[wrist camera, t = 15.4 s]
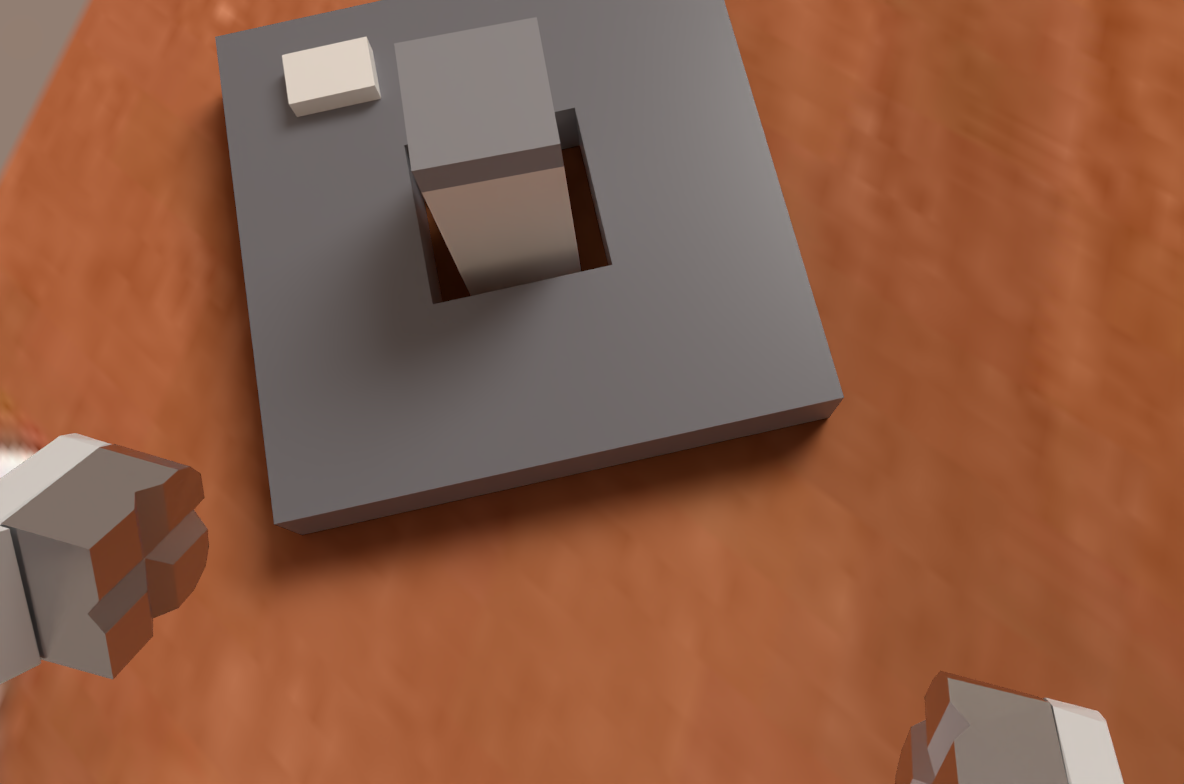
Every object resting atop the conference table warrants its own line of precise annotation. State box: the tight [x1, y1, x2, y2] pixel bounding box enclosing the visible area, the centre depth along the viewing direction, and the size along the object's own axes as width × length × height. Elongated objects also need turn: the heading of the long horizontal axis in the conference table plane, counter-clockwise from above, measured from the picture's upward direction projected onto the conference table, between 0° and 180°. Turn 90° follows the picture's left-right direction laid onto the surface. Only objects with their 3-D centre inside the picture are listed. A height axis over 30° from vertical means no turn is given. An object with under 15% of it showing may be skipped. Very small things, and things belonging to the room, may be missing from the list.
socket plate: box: [215, 0, 844, 535], centre depth 33 cm, size 18×18×3 cm
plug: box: [394, 17, 581, 296], centre depth 30 cm, size 4×4×9 cm
